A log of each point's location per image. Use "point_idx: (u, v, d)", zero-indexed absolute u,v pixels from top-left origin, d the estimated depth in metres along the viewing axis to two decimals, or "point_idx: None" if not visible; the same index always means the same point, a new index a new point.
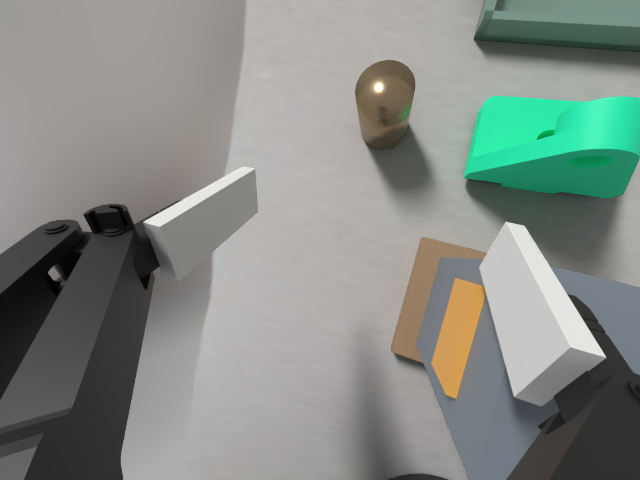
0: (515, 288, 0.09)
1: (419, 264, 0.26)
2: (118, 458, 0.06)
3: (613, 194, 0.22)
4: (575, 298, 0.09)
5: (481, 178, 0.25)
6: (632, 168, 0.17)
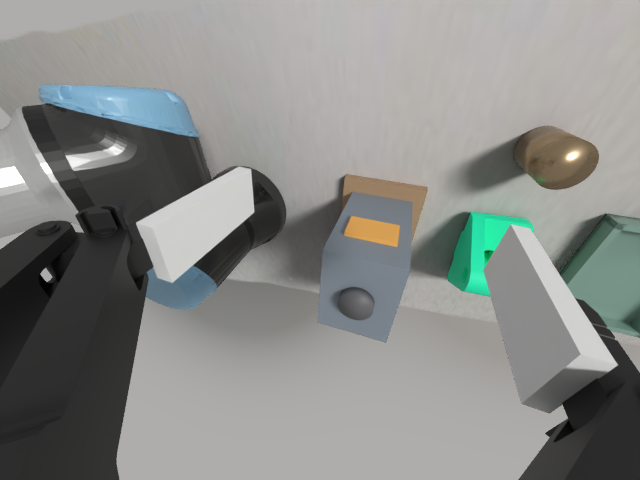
0: (522, 292, 0.09)
1: (407, 189, 0.37)
2: (113, 459, 0.06)
3: (448, 277, 0.42)
4: (583, 302, 0.09)
5: (468, 222, 0.37)
6: (458, 287, 0.36)
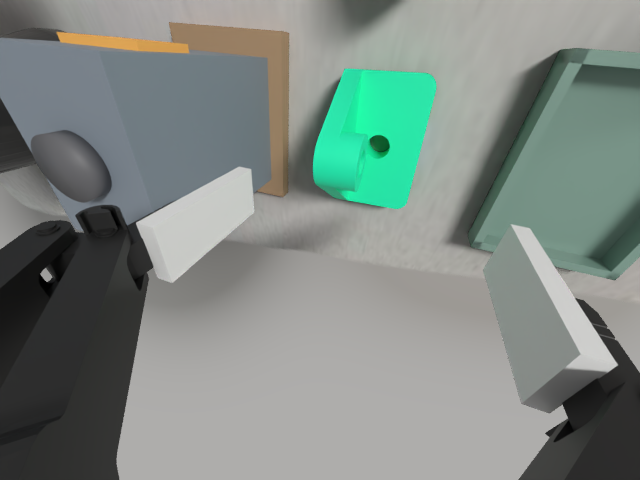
0: (521, 292, 0.09)
1: (254, 33, 0.23)
2: (113, 459, 0.06)
3: None
4: (583, 302, 0.09)
5: None
6: (321, 187, 0.23)
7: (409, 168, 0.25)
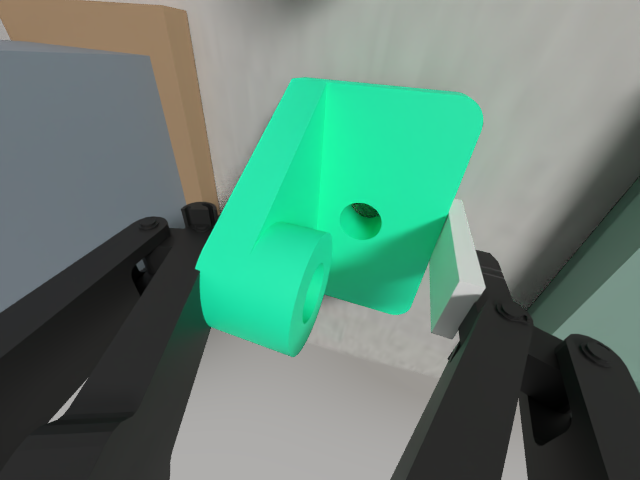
0: (443, 248, 0.11)
1: (118, 11, 0.13)
2: (168, 456, 0.06)
3: None
4: (489, 255, 0.10)
5: None
6: None
7: (417, 261, 0.13)
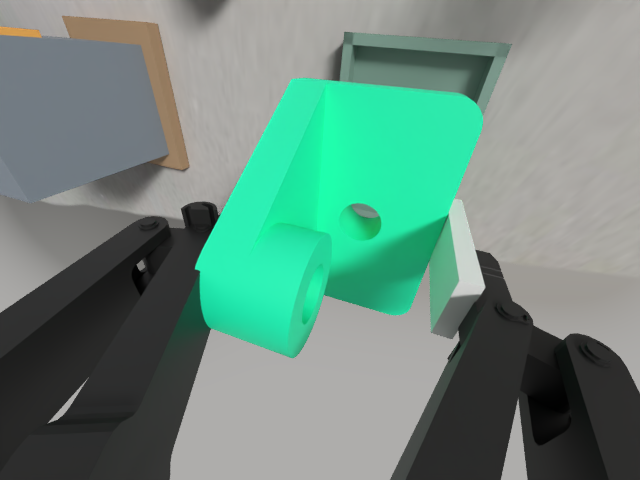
0: (443, 248, 0.11)
1: (126, 24, 0.28)
2: (168, 456, 0.06)
3: None
4: (489, 254, 0.10)
5: None
6: None
7: (417, 262, 0.13)
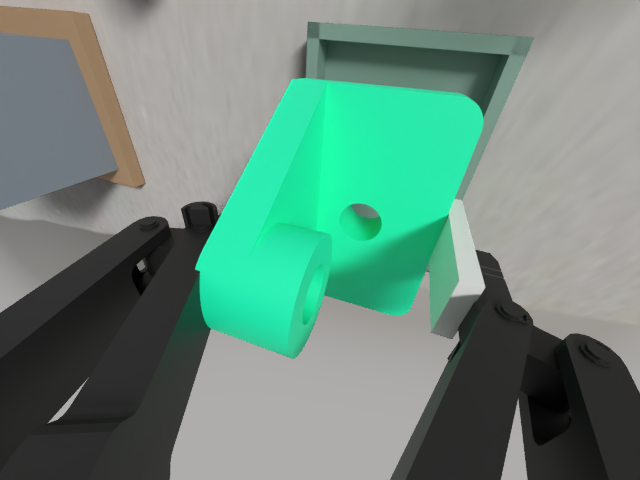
0: (443, 248, 0.11)
1: (48, 14, 0.22)
2: (168, 456, 0.06)
3: None
4: (488, 254, 0.10)
5: None
6: None
7: (417, 262, 0.13)
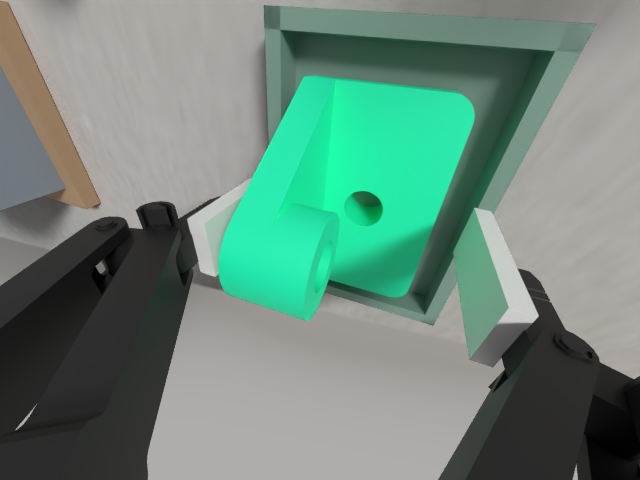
0: (477, 265, 0.10)
1: None
2: (144, 455, 0.06)
3: None
4: (528, 273, 0.10)
5: None
6: None
7: (415, 246, 0.15)
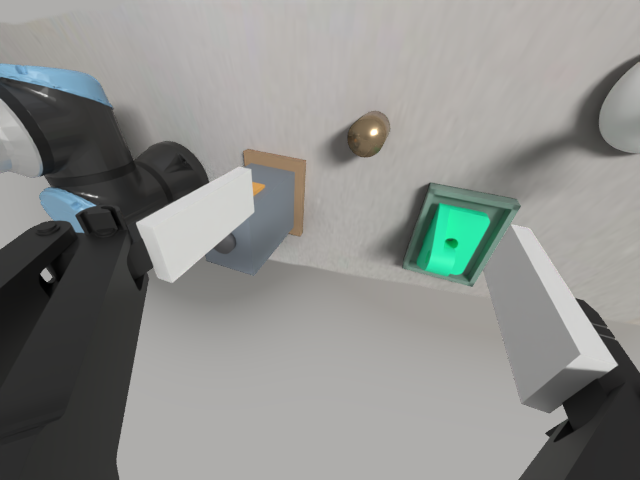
0: (522, 292, 0.09)
1: (288, 161, 0.46)
2: (113, 459, 0.06)
3: (417, 261, 0.47)
4: (583, 302, 0.09)
5: (436, 212, 0.42)
6: (422, 268, 0.41)
7: (468, 256, 0.43)
